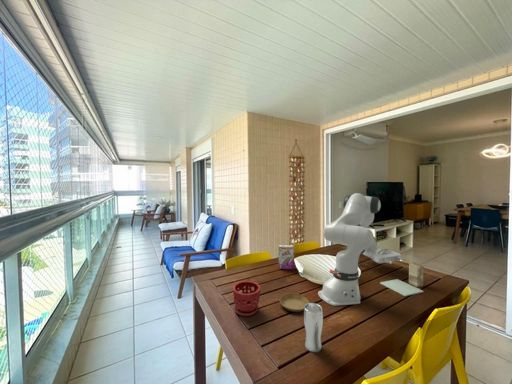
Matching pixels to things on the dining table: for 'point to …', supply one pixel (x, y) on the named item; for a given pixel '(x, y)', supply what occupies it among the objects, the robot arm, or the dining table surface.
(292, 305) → the plant saucer
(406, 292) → the sage mat
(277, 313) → the dining table surface
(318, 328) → the beer glass
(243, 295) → the plant pot
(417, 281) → the maple block
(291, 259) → the candy bar box
